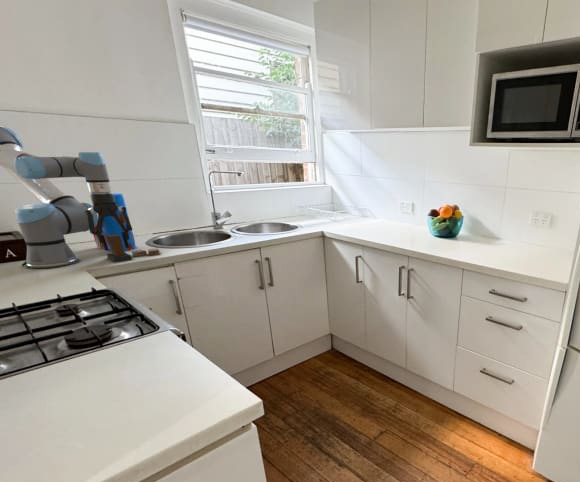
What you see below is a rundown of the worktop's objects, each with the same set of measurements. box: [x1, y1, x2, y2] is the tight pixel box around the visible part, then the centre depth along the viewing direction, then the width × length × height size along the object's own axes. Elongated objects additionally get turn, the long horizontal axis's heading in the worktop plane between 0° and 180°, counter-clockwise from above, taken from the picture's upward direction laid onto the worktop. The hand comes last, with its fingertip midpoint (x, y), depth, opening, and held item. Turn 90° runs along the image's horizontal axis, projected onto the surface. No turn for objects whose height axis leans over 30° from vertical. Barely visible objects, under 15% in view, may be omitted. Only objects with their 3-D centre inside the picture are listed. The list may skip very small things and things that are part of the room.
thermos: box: [102, 192, 137, 252], centre depth 176 cm, size 11×11×25 cm
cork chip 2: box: [147, 248, 161, 256], centre depth 173 cm, size 4×4×2 cm
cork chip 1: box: [131, 249, 148, 258], centre depth 171 cm, size 4×4×2 cm
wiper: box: [106, 234, 133, 263], centre depth 163 cm, size 6×10×10 cm, turn 52°
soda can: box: [92, 226, 108, 250], centre depth 181 cm, size 7×7×12 cm
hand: (116, 248), depth 163 cm, fingers open, 7 cm apart
